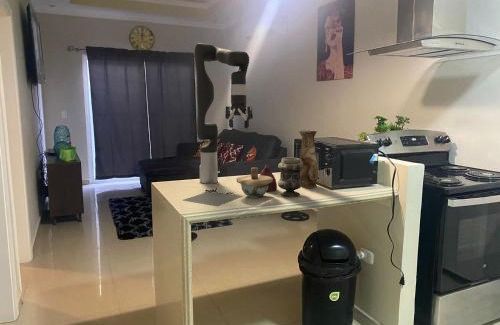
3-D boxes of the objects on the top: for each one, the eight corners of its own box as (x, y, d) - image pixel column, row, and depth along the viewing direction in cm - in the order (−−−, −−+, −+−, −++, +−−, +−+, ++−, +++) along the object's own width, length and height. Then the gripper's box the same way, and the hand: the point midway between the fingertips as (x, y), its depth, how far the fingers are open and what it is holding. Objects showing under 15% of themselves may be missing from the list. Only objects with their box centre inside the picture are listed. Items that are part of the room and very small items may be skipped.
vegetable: (274, 198, 192) (277, 171, 186) (254, 194, 194) (256, 168, 188) (278, 188, 202) (281, 163, 195) (258, 185, 203) (261, 159, 197)
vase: (318, 188, 199) (319, 130, 194) (297, 188, 200) (298, 130, 195) (317, 184, 209) (318, 129, 204) (297, 184, 210) (298, 129, 205)
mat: (182, 201, 175) (182, 200, 175) (208, 192, 192) (208, 191, 192) (217, 207, 164) (217, 206, 164) (242, 197, 181) (242, 196, 181)
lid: (229, 182, 177) (229, 169, 176) (248, 176, 191) (248, 164, 190) (261, 186, 168) (261, 172, 168) (278, 179, 183) (279, 166, 182)
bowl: (234, 198, 180) (234, 181, 178) (250, 192, 190) (250, 177, 189) (259, 202, 172) (259, 185, 171) (274, 196, 183) (274, 180, 182)
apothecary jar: (303, 192, 190) (304, 156, 188) (301, 198, 179) (301, 160, 176) (279, 191, 193) (279, 156, 190) (275, 197, 182) (275, 159, 179)
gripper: (221, 94, 184) (222, 128, 187) (247, 93, 177) (247, 129, 180) (230, 94, 191) (231, 127, 193) (255, 94, 183) (255, 128, 186)
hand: (238, 128), depth 187 cm, fingers open, 8 cm apart
